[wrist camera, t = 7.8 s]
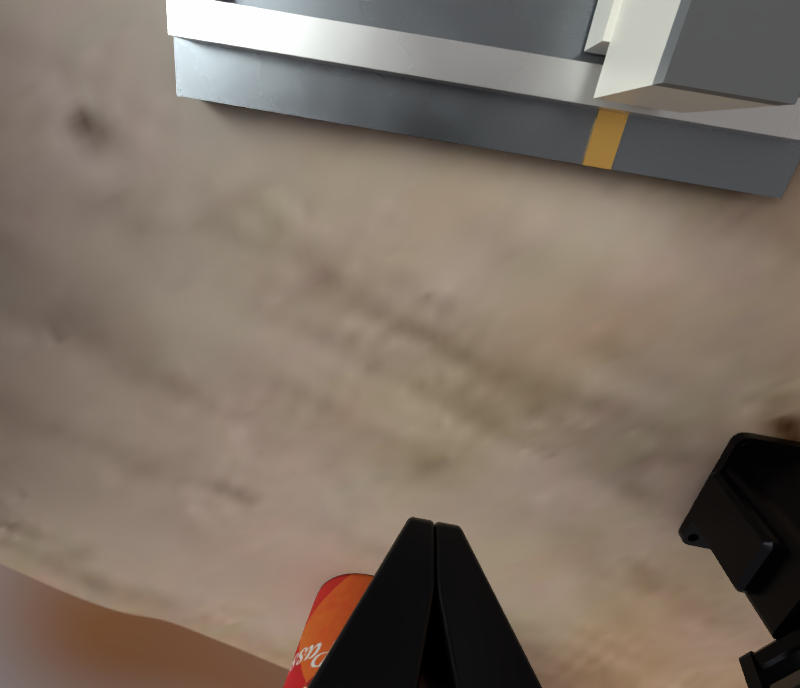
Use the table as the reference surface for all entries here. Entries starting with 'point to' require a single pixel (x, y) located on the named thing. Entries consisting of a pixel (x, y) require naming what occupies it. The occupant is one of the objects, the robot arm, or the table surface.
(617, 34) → the fader tab
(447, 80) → the console
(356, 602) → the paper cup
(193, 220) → the table surface
